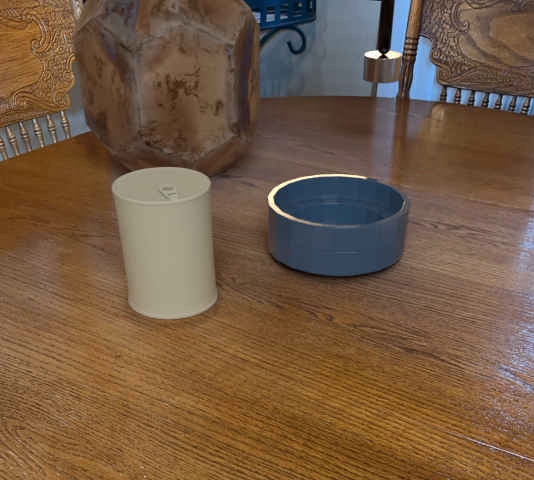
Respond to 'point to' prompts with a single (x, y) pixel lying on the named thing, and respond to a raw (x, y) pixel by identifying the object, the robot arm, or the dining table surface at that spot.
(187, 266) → the can
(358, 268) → the bowl
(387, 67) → the black handled meat pounder
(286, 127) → the dining table surface
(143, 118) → the planter
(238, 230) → the dining table surface
